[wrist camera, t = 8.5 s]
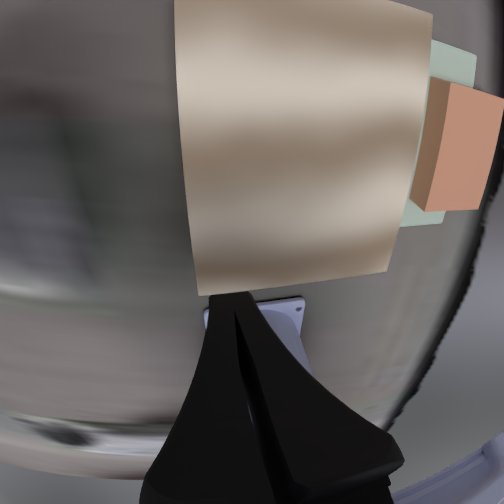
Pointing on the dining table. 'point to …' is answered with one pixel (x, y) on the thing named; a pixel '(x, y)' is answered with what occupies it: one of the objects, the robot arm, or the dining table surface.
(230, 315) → the robot arm
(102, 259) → the dining table surface
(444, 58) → the mat
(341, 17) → the plate
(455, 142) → the tile
